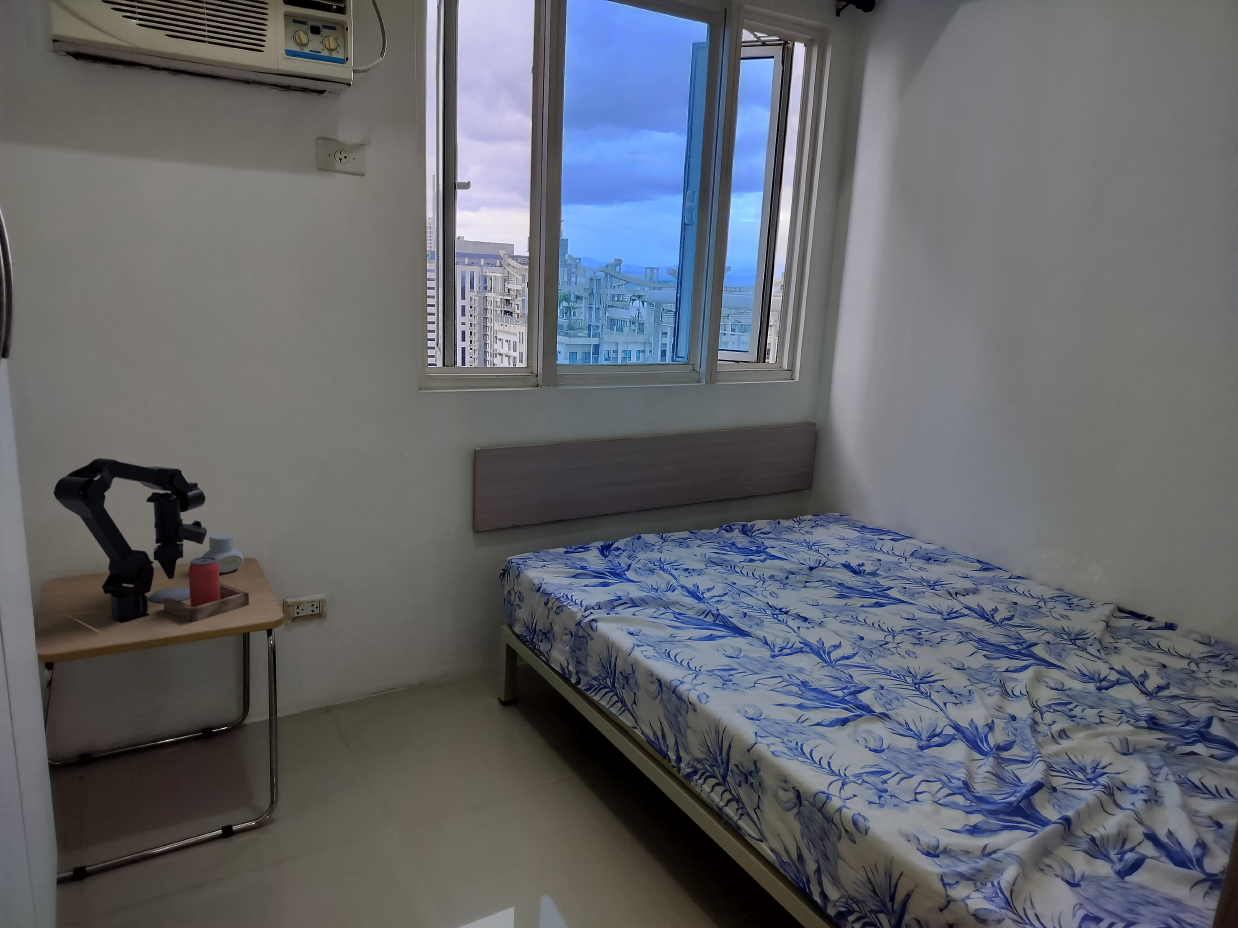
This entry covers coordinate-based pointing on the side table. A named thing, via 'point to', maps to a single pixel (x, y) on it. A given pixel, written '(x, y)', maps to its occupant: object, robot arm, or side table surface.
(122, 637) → the side table surface
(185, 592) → the coaster
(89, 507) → the robot arm
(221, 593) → the tray
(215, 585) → the beer can
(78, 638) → the side table surface
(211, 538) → the air freshener
